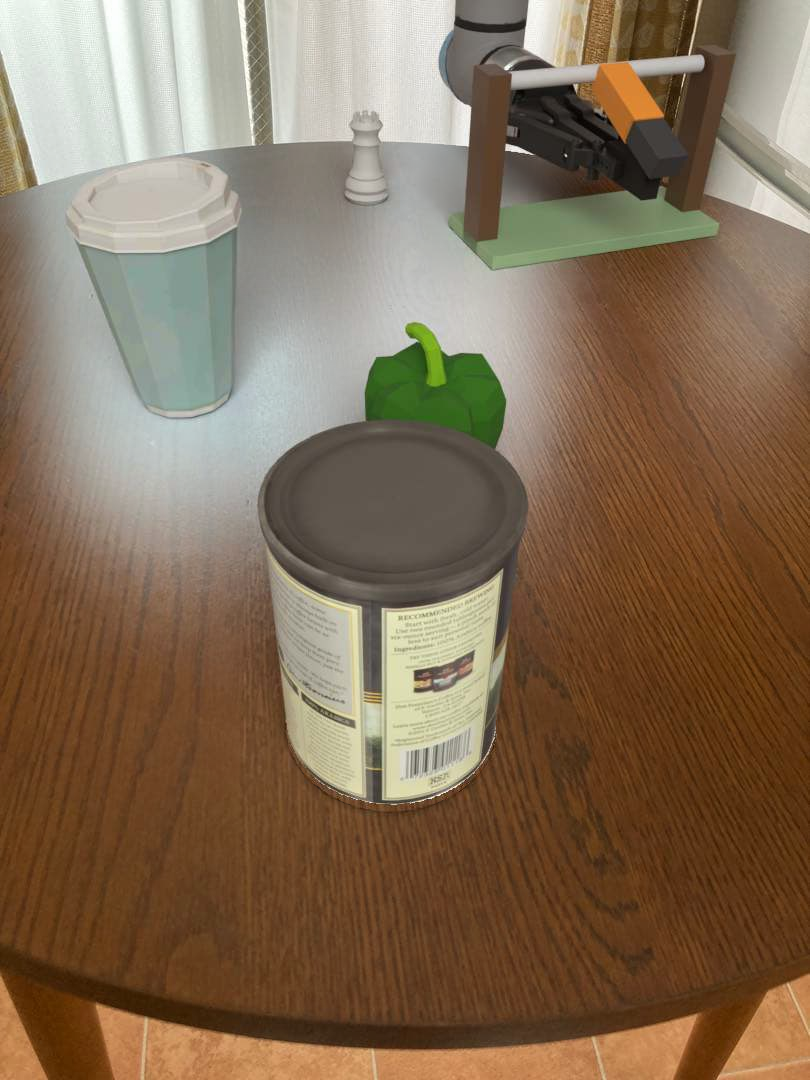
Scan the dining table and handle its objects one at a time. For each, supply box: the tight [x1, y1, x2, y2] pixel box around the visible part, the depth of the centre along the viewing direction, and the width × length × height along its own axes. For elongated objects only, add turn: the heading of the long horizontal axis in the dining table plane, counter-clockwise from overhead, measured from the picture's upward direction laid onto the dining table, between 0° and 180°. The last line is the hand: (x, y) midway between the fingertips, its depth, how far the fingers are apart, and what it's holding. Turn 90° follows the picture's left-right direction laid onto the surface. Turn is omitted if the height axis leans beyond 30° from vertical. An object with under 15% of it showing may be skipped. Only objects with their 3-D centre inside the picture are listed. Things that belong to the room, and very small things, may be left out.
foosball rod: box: [510, 54, 705, 179], centre depth 76 cm, size 19×2×13 cm
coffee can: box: [257, 420, 529, 805], centre depth 40 cm, size 10×10×14 cm
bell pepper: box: [364, 321, 507, 450], centre depth 55 cm, size 8×8×10 cm
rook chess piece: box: [344, 109, 390, 206], centre depth 90 cm, size 4×4×8 cm
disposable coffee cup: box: [64, 156, 243, 419], centre depth 61 cm, size 11×11×15 cm
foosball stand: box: [448, 44, 737, 271], centre depth 83 cm, size 24×10×15 cm, turn 111°
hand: (652, 183), depth 76 cm, fingers closed
